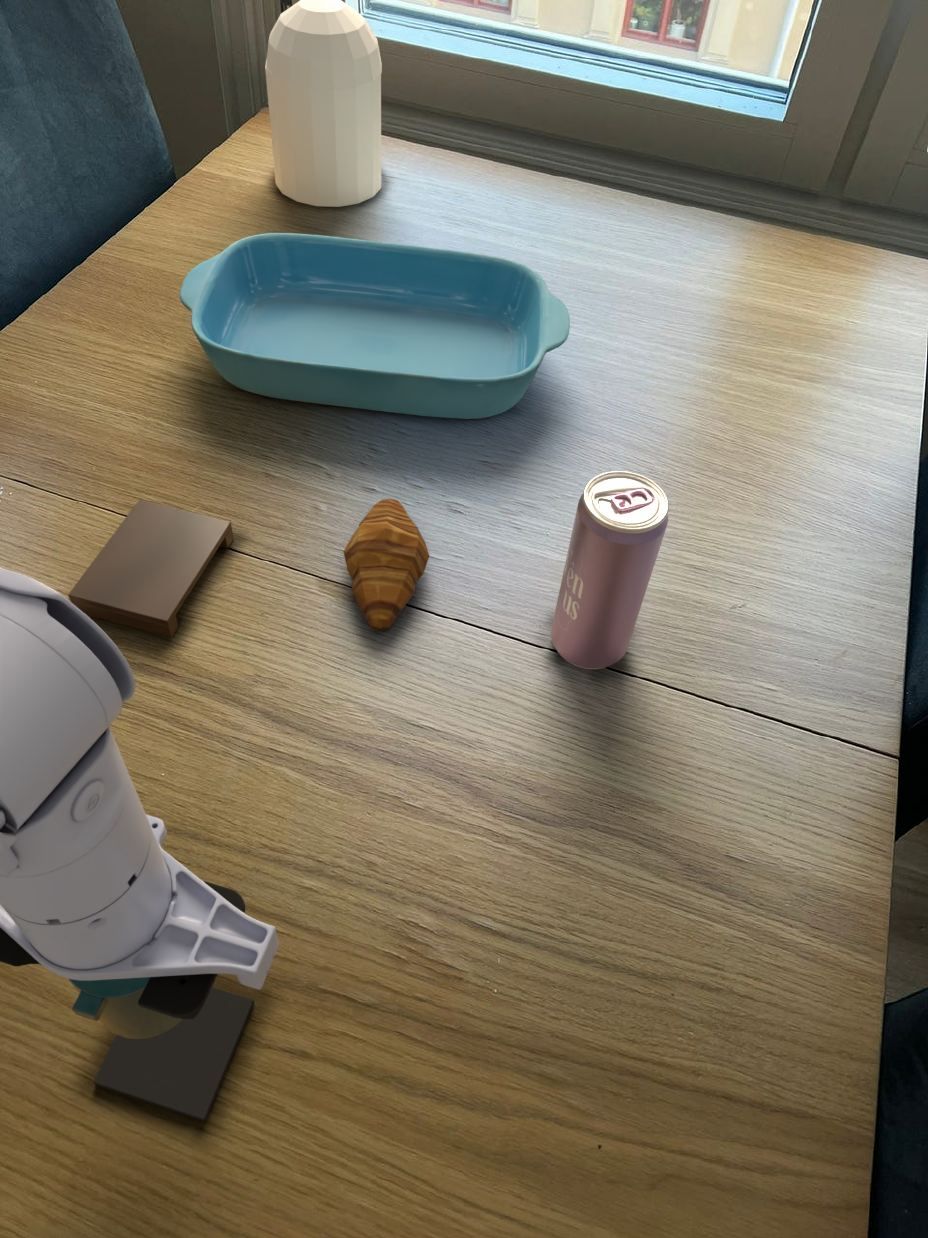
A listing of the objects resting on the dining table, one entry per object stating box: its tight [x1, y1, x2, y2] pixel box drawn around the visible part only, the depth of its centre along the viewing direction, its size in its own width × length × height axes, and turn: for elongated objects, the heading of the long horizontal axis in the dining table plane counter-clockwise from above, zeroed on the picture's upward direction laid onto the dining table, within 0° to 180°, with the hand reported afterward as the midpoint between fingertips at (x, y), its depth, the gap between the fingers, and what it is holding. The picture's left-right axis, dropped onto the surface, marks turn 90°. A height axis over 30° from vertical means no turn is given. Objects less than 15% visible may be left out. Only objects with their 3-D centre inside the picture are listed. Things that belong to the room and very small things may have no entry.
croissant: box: [343, 498, 430, 632], centre depth 73 cm, size 14×7×5 cm, turn 0°
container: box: [264, 0, 383, 208], centre depth 110 cm, size 13×13×20 cm
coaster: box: [92, 986, 255, 1122], centre depth 51 cm, size 6×6×1 cm
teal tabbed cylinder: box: [68, 977, 183, 1039], centre depth 44 cm, size 5×8×6 cm
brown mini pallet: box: [67, 498, 234, 638], centre depth 73 cm, size 8×11×2 cm
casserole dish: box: [179, 232, 571, 420], centre depth 91 cm, size 37×22×7 cm, turn 86°
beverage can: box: [550, 470, 670, 670], centre depth 66 cm, size 6×6×15 cm
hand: (144, 977), depth 45 cm, fingers closed on teal tabbed cylinder, 5 cm apart
